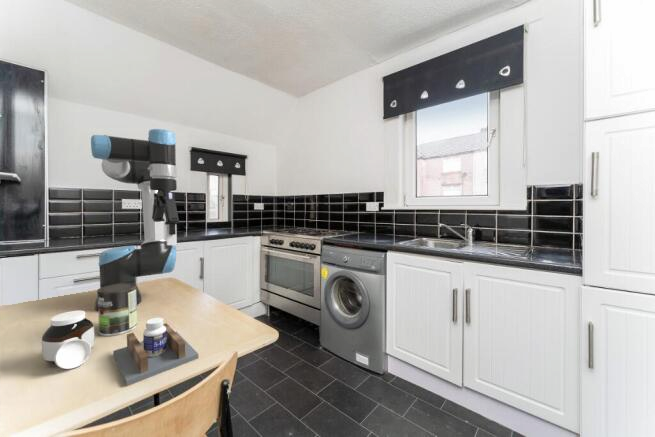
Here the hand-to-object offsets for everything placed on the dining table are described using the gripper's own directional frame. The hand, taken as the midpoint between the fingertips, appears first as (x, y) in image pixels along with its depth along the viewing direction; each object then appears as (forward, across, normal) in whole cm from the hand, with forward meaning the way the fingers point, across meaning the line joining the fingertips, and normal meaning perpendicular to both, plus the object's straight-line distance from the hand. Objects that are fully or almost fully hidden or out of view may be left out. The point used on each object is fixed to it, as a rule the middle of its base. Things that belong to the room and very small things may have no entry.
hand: (165, 242), depth 92 cm
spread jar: (+29, +4, -24) cm, 38 cm away
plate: (+29, +18, -8) cm, 35 cm away
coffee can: (+29, -9, -12) cm, 33 cm away
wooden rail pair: (+27, +18, -8) cm, 34 cm away
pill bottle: (+28, +18, -8) cm, 34 cm away
